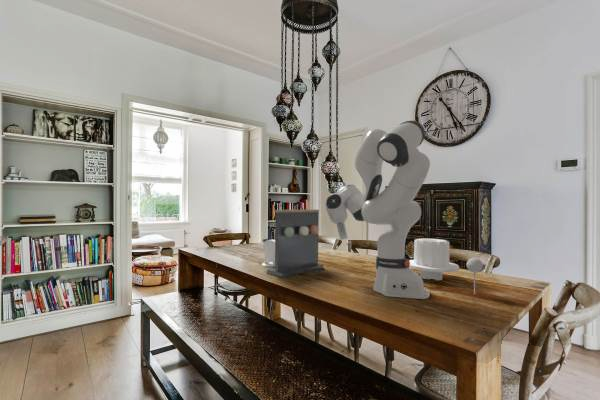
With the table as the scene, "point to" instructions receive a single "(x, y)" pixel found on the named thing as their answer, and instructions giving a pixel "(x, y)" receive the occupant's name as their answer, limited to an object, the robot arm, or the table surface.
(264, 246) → the metal pitcher
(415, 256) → the white brimmed cylinder
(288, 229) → the sage button
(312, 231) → the terracotta button
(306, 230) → the cream button
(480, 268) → the lollipop
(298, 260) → the button panel
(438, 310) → the table surface
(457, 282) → the table surface
